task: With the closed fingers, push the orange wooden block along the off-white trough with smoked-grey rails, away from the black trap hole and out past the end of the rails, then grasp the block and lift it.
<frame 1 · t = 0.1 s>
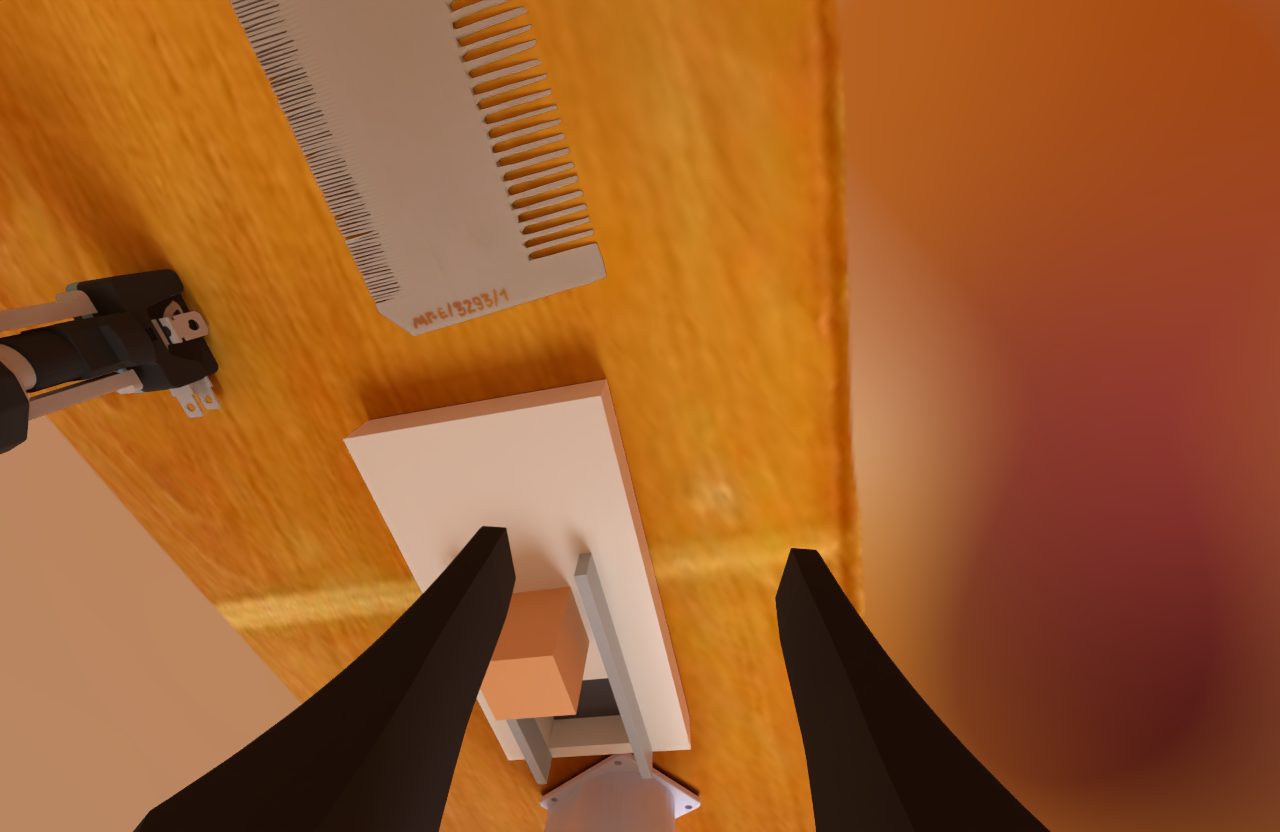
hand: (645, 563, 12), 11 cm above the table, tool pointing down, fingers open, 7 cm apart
grooming comb: (409, 68, 17), on the table
trough: (552, 590, 27), on the table
push button: (190, 337, 22), on the table
block: (544, 618, 25), point 2 cm above the table, touching trough
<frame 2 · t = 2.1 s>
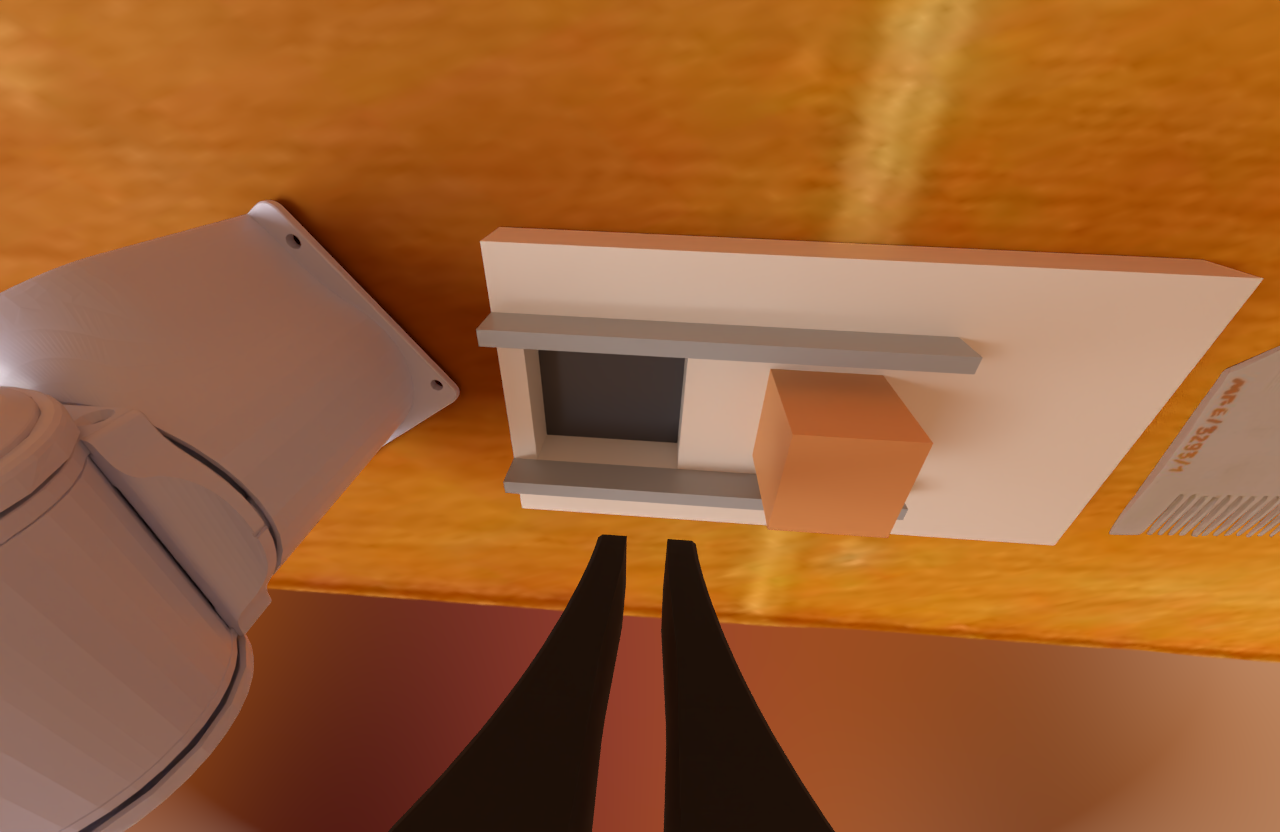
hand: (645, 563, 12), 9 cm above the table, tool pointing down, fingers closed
trough: (802, 390, 20), on the table
block: (813, 417, 18), point 2 cm above the table, touching trough
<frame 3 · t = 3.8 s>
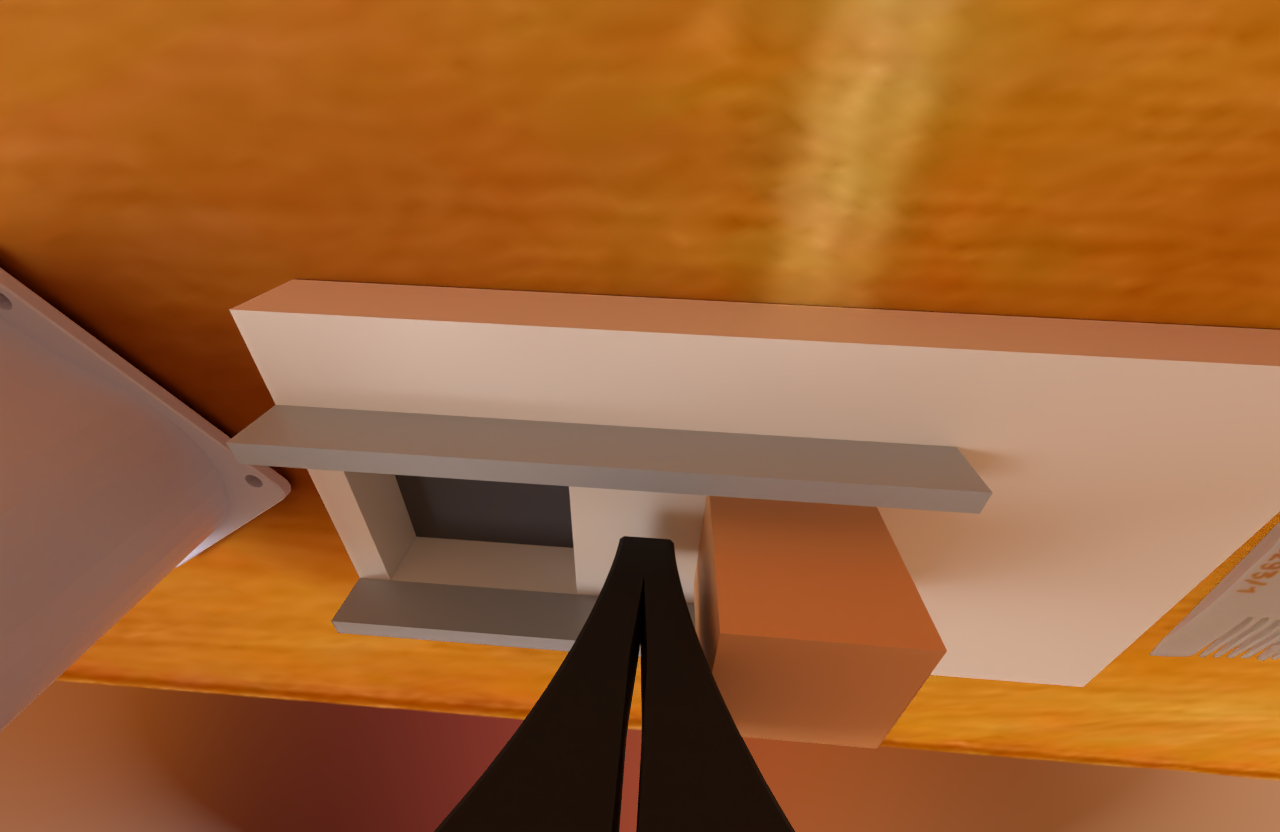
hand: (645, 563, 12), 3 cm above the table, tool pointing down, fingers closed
trough: (744, 490, 15), on the table
block: (773, 543, 13), point 2 cm above the table, touching gripper
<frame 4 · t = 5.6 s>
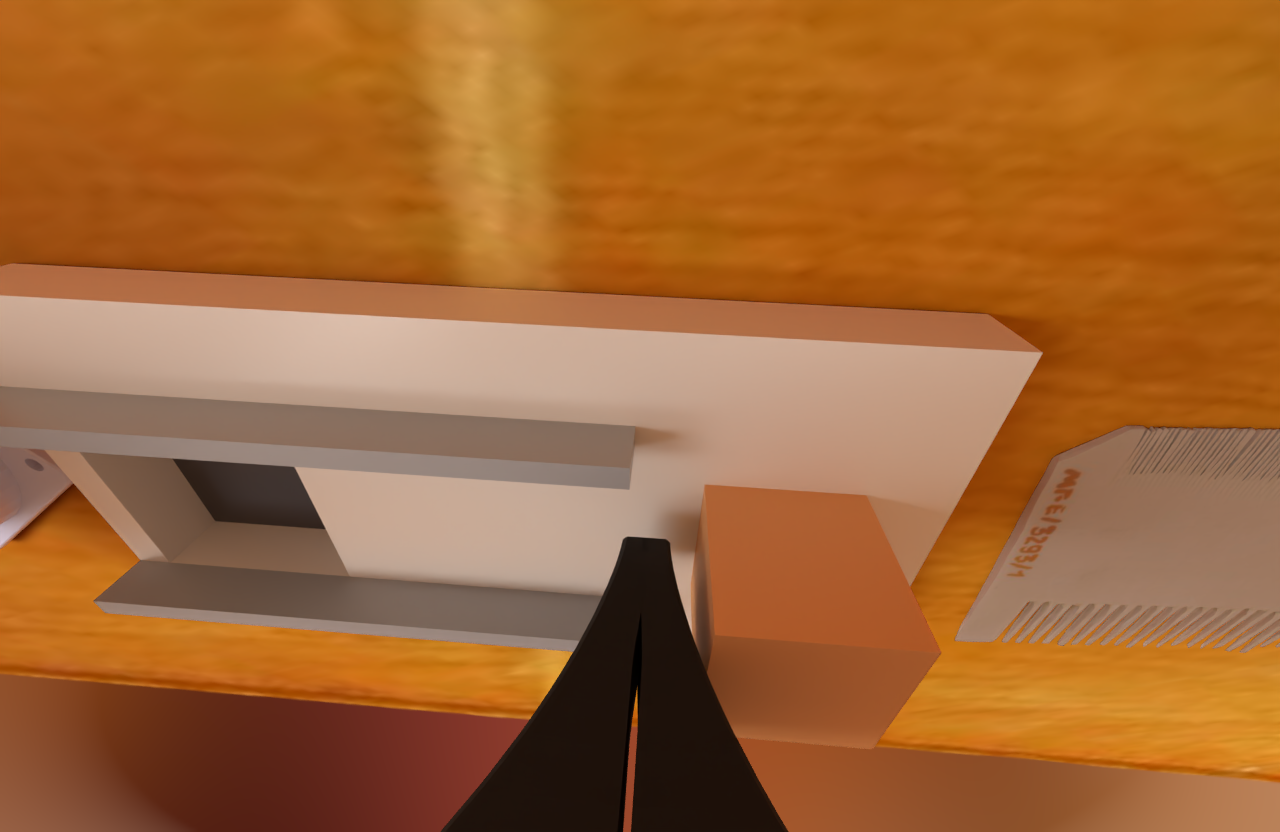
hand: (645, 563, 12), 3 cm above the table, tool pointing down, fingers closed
trough: (510, 474, 15), on the table
block: (770, 543, 13), point 2 cm above the table, touching gripper, trough
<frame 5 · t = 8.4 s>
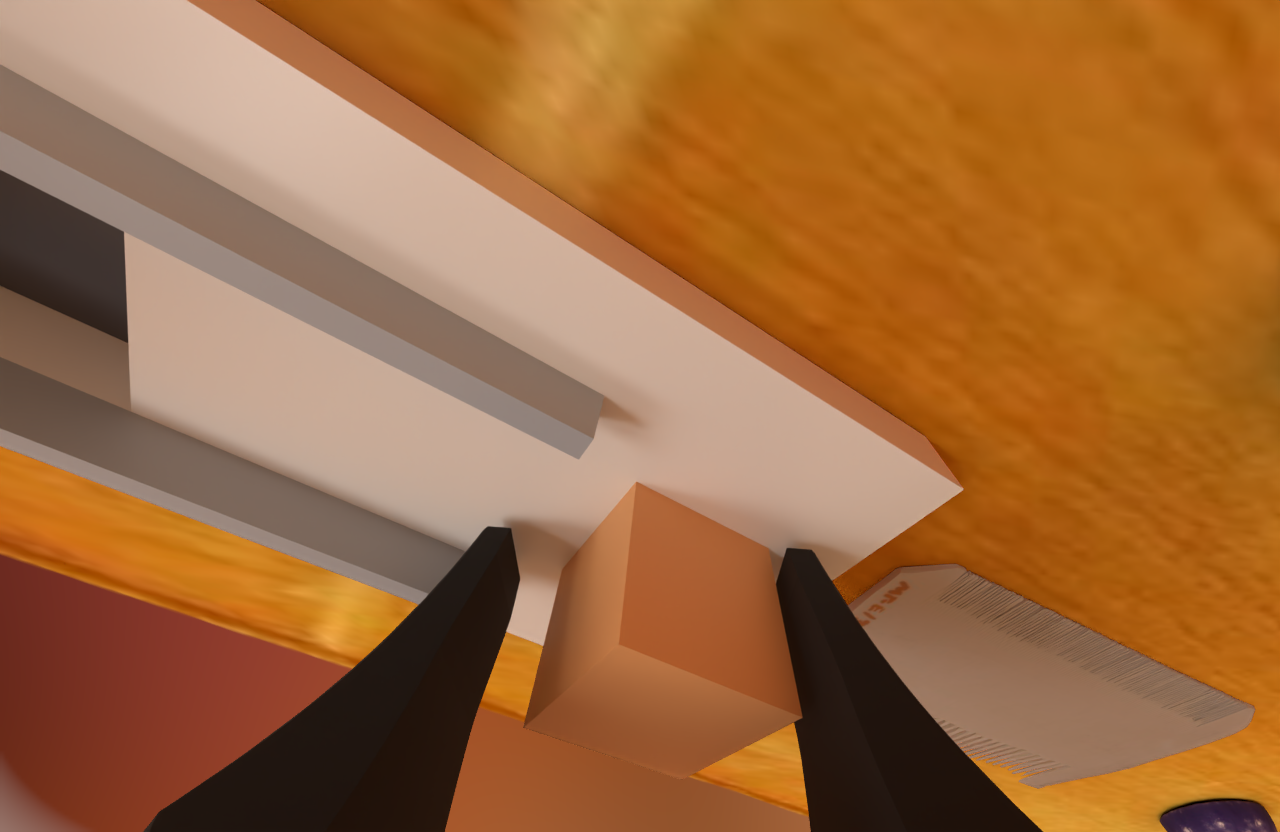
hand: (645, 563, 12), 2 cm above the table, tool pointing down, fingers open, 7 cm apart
toy lamp: (1202, 811, 24), on the table
grooming comb: (988, 684, 20), on the table
trough: (414, 379, 12), on the table
block: (661, 559, 13), point 2 cm above the table, touching trough
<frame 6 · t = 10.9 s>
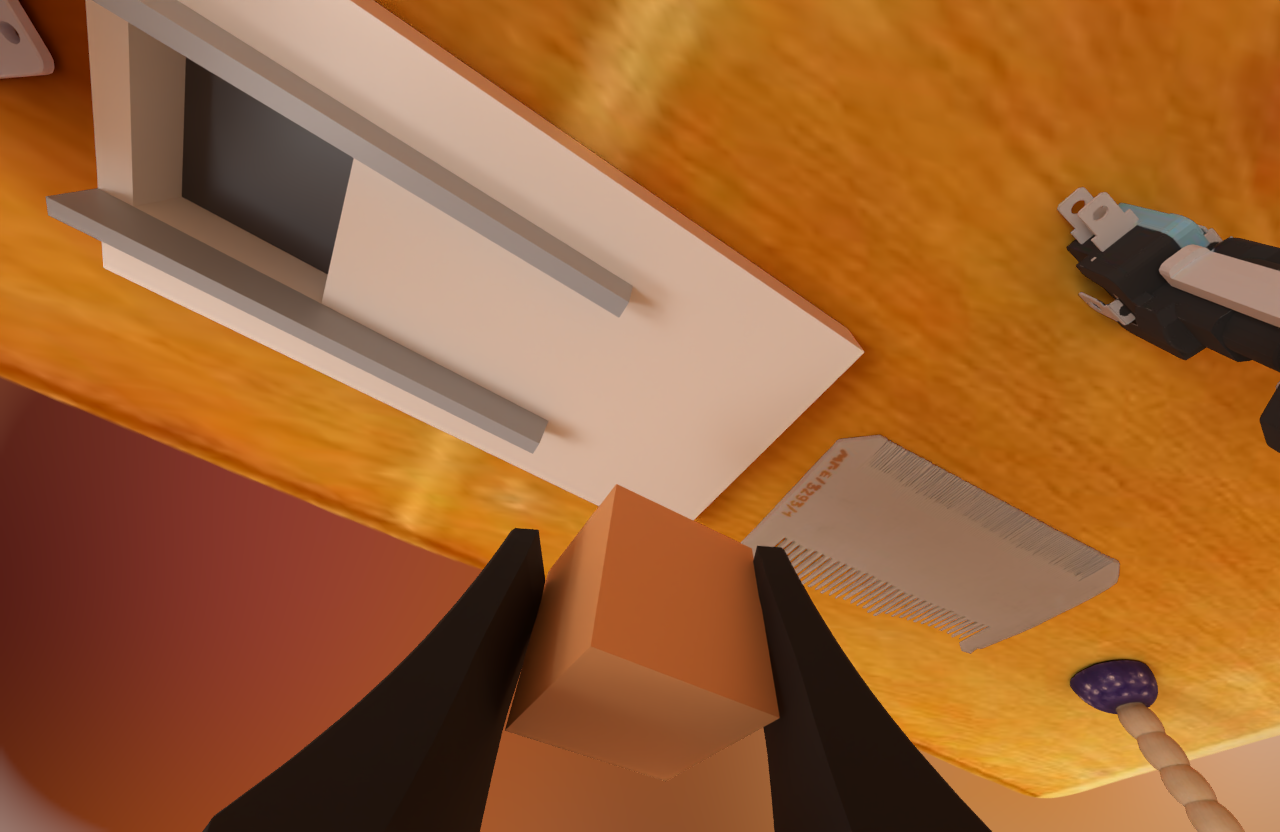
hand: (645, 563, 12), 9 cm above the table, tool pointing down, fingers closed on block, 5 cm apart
toy lamp: (1103, 676, 30), on the table
grooming comb: (920, 552, 25), on the table
trough: (500, 290, 18), on the table
push button: (1111, 252, 16), on the table
block: (645, 560, 13), point 9 cm above the table, touching gripper
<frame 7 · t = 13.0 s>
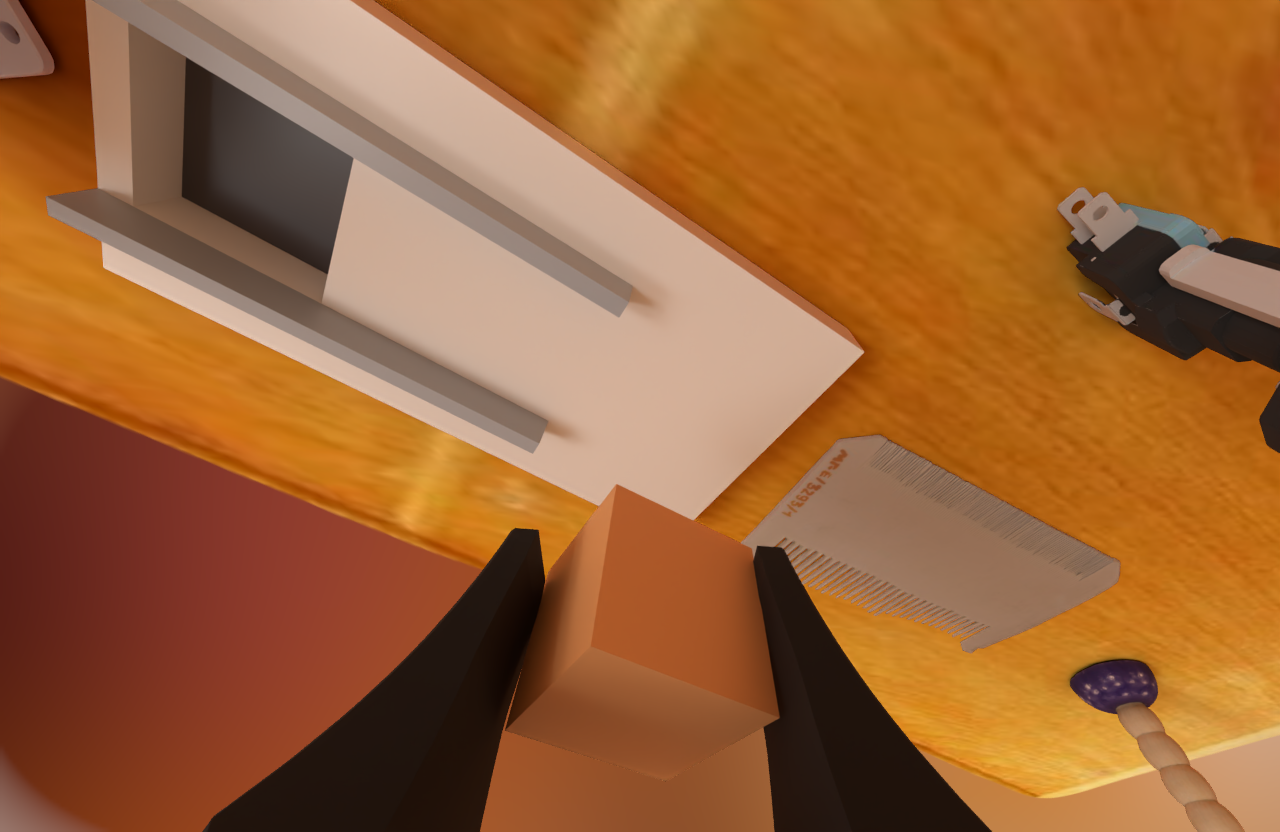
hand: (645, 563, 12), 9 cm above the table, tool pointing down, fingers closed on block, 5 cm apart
toy lamp: (1103, 676, 30), on the table
grooming comb: (920, 552, 25), on the table
trough: (500, 290, 18), on the table
push button: (1111, 252, 16), on the table
block: (645, 560, 13), point 9 cm above the table, touching gripper
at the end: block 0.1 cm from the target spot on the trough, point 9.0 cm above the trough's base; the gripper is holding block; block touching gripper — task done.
